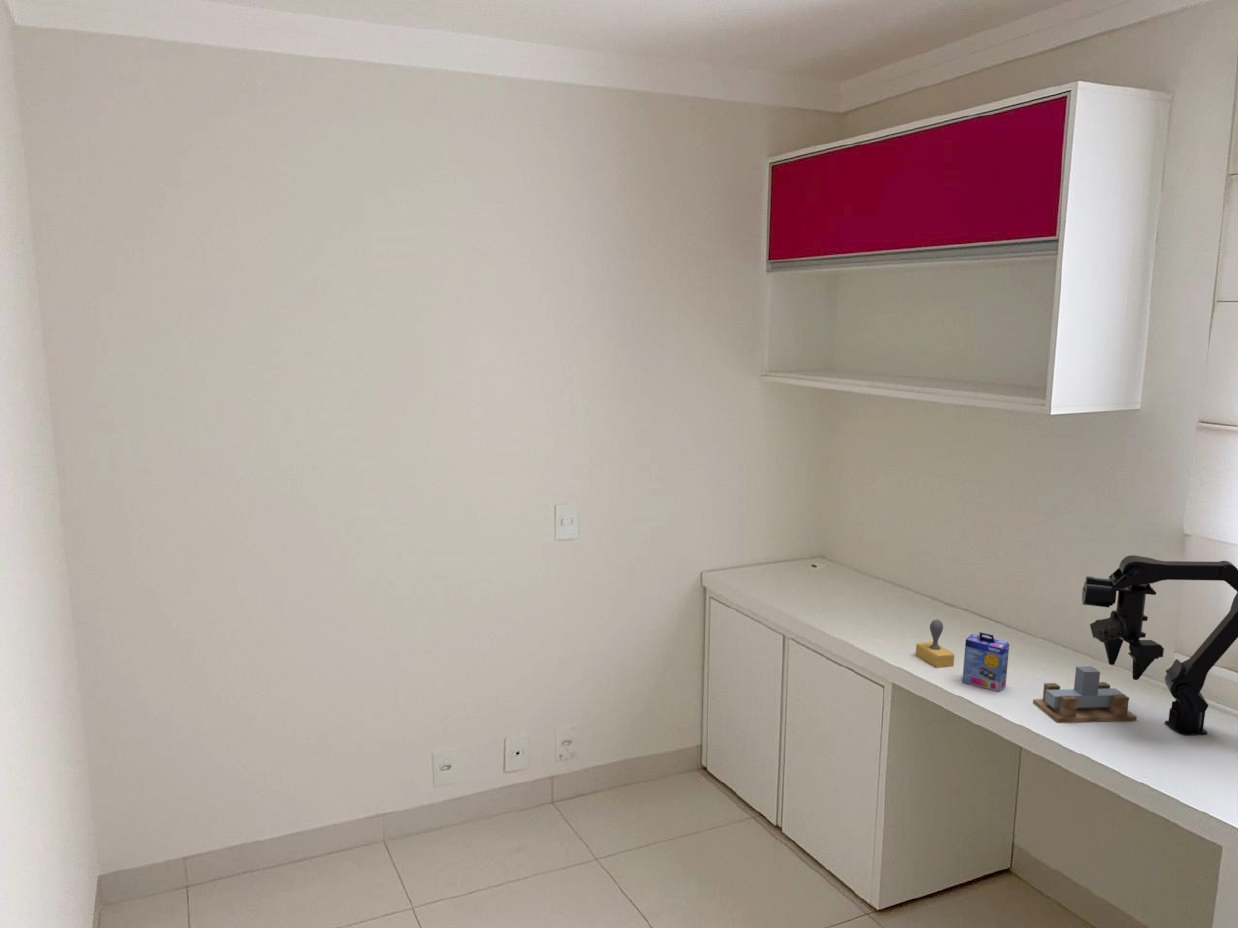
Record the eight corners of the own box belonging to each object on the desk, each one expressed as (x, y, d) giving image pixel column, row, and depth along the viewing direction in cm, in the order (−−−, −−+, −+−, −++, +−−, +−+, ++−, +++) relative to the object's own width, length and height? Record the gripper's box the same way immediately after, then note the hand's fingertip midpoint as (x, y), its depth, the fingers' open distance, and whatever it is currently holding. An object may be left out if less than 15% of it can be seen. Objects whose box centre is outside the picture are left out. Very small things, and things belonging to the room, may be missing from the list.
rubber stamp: (914, 655, 263) (917, 614, 261) (932, 653, 265) (935, 613, 263) (936, 668, 254) (939, 626, 252) (954, 666, 255) (957, 624, 253)
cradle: (1108, 701, 234) (1111, 680, 233) (1136, 720, 223) (1138, 698, 222) (1032, 702, 232) (1034, 682, 231) (1057, 722, 221) (1059, 700, 220)
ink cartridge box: (960, 682, 244) (965, 630, 242) (968, 676, 248) (972, 624, 246) (999, 692, 238) (1004, 639, 236) (1006, 686, 242) (1011, 633, 240)
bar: (1114, 699, 230) (1118, 665, 228) (1124, 706, 226) (1128, 671, 224) (1044, 701, 228) (1048, 666, 227) (1053, 708, 224) (1057, 672, 223)
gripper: (1075, 597, 227) (1069, 658, 230) (1122, 623, 209) (1115, 688, 212) (1118, 597, 228) (1111, 657, 231) (1168, 622, 210) (1161, 687, 213)
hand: (1123, 671), depth 222 cm, fingers open, 9 cm apart
